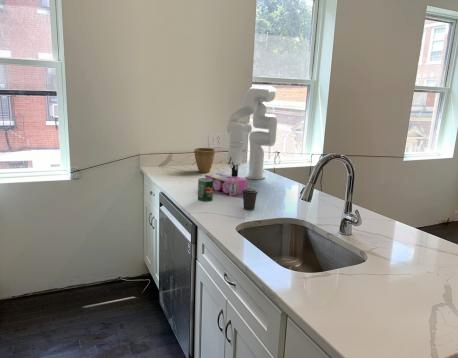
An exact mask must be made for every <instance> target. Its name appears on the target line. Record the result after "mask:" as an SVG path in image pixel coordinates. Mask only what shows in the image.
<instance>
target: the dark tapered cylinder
mask: <svg viewBox="0 0 458 358" xmlns="http://www.w3.org/2000/svg"><path fill="white" fill-rule="evenodd" d="M242 192H243V198H242V200H243V204H242V205H243V206H242V207H243V210H244V211H254V210H255V208H256V201H257V195H258V193H259V191H258V190H257V189H256V188H255V189H254V188H251V187H247V189H243V190H242Z"/></svg>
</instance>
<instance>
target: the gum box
mask: <svg viewBox="0 0 458 358" xmlns="http://www.w3.org/2000/svg"><path fill="white" fill-rule="evenodd" d="M204 178H211V179H213V190H215V191H218V192H221V193H223V194H222V195H224V194H226V195H225V196H228V197H232V196H231V195H237V194H242V193H243V192H242V190H243V189H247V188H249V187H248V185H249V184H248V183H249V182H248V181H249V180H248V178H243V177H241V176H237V177H234V176H232V173H231V174H230V173H228V172H224V171H223V172H217V173H212V174H211V173H209V174H205V177H204Z"/></svg>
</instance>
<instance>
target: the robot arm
mask: <svg viewBox="0 0 458 358" xmlns="http://www.w3.org/2000/svg"><path fill="white" fill-rule="evenodd" d="M276 94H277V93H276V88H275V87H273V86H260V85H259V86H251V87H250V88H248V89H247V91H246V93H245V96H244V98H243V101H242V104H241V106H240V107H239V108H237V109H236V110H234V111H233V112H232V114H231V115H230V116H229V119H228V121H227V124H226V130H227V132H228V133H229V145H228V146H229V148H228V151H227V152H228V153H227V160H226V163H227V165H229V168H230V169H231V175H232V176H234V177H239V175H238V174H239V167H240V166H241V164H242V162H243V147H244V146H243V143H244V142H243V141H244V136H248V139H249V140H248V141H249V158H248V159H249V161H248V162H249V163H248V164H249V165H248V174H246V176H245V177H246V179H250V180H265V178H266V176H265V175H264V173H265V170H264V159H265V151H264V147H273V146H275V144H276V140H277V129H278V128H277V127H278V120H277V116H276V115H274V114H267V111H268V110H267V108H268V106H267V103H270V102H272V101H274V100H275V99H276V96H277V95H276ZM252 114H253V115H252ZM251 115H252V124H251V123H250V122H247V121H239V120H240V119H243V118H245V117H248V116H251ZM253 128H254V129H259V130H252V129H253ZM264 130H268V131H264ZM262 146H263V147H262Z"/></svg>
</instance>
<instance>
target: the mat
mask: <svg viewBox="0 0 458 358" xmlns="http://www.w3.org/2000/svg"><path fill="white" fill-rule="evenodd" d="M213 194H220V195H223V196H227V195H226V194H223V193H221V192H218V191H215V190H213ZM230 197H235V198H240V199H243V193H242V194H237V195H231V196H230Z"/></svg>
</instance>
